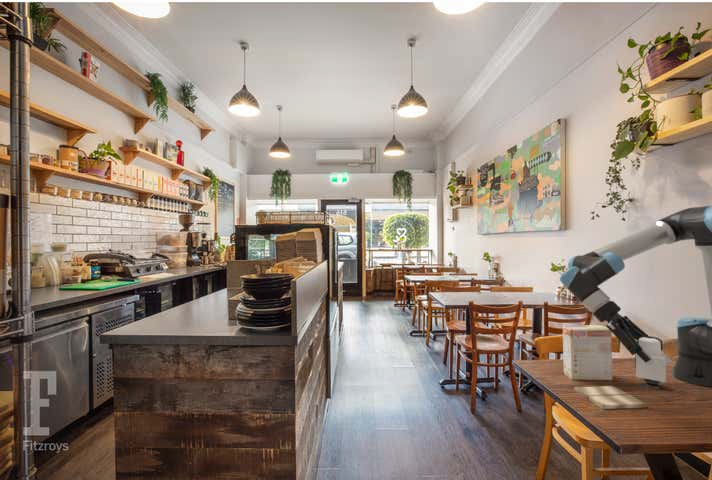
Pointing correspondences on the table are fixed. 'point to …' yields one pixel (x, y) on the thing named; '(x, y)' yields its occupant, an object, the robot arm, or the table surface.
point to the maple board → (609, 397)
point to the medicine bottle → (656, 351)
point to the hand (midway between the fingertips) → (663, 367)
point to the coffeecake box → (587, 352)
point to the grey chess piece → (651, 383)
